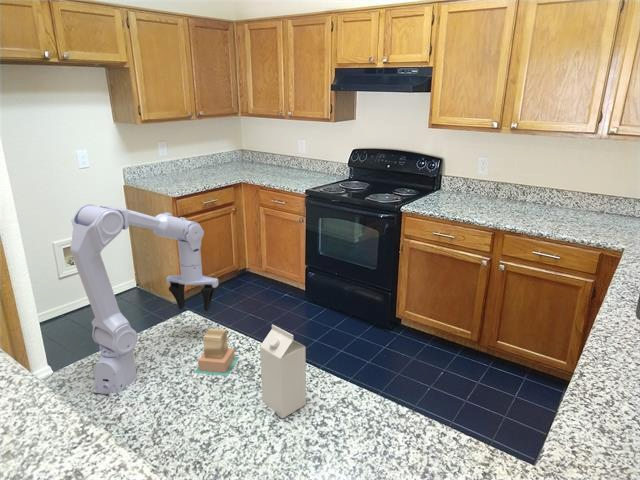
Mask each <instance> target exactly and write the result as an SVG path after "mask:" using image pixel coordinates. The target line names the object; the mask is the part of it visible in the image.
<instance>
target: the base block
mask: <svg viewBox="0 0 640 480" xmlns="http://www.w3.org/2000/svg"><path fill="white" fill-rule="evenodd" d="M235 357H236V356H235V348H230V347H228V351H227V353H226V354H225V355H224V357H223V358H222V359H211V358H205V354H204V352H203V353H202V354H201V356H200V357H199V358H198V359H197V365H198V366H199V371H206V372H216V373H226V371H227V370H228V368H229V367H230V365H231V364H232V362H233V361H234V359H235ZM198 366H197V367H198Z"/></svg>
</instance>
